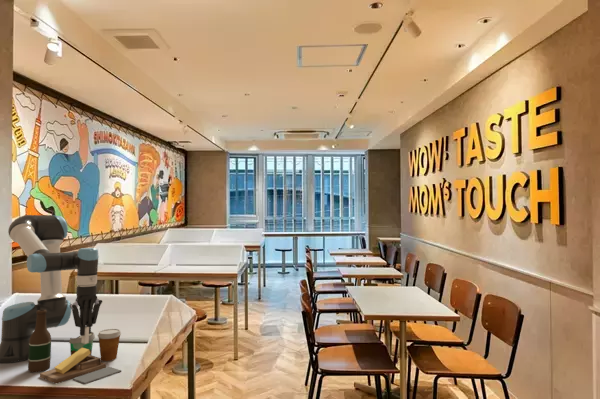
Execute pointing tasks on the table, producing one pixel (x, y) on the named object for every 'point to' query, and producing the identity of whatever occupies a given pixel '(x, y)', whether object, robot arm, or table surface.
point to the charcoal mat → (96, 375)
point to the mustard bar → (72, 360)
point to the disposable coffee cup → (109, 343)
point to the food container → (76, 343)
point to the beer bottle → (39, 345)
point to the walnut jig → (75, 370)
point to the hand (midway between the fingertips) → (85, 342)
